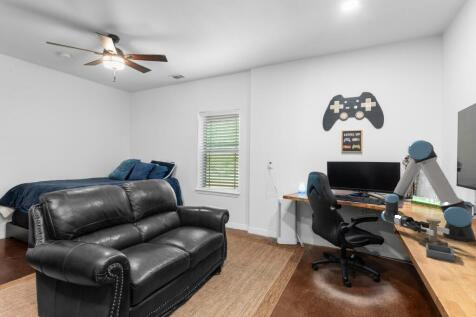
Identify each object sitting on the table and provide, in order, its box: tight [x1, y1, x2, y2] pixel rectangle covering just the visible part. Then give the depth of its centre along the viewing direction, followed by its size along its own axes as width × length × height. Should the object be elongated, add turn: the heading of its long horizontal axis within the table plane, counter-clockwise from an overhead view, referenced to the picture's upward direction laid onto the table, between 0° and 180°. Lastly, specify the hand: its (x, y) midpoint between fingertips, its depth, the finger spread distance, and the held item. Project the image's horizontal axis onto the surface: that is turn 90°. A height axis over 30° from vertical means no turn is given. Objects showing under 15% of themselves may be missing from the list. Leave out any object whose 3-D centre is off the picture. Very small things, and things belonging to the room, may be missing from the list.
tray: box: [425, 243, 456, 263], centre depth 122 cm, size 12×11×4 cm
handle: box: [425, 217, 442, 242], centre depth 135 cm, size 5×6×15 cm
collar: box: [418, 237, 449, 247], centre depth 135 cm, size 10×8×3 cm
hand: (441, 232), depth 130 cm, fingers open, 10 cm apart
